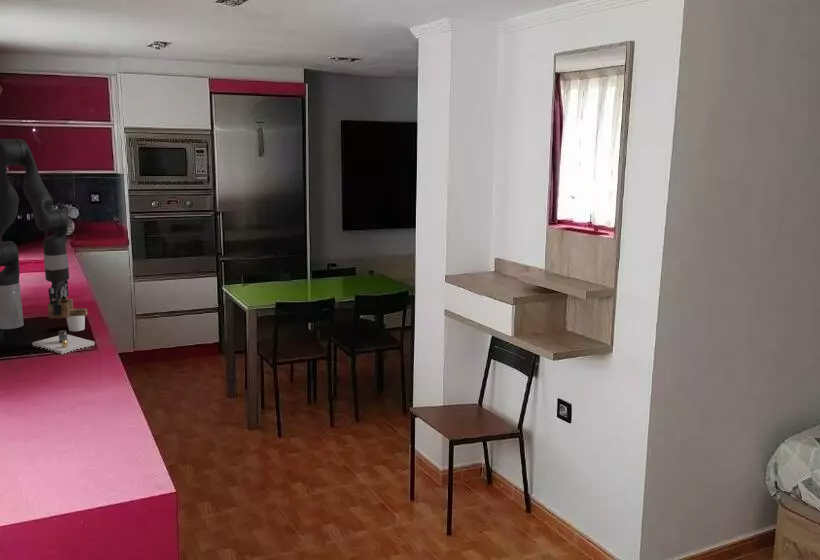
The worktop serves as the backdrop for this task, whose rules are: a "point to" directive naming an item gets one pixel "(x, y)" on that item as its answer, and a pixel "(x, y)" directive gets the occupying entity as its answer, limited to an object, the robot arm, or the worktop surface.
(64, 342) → the dowel
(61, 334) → the post
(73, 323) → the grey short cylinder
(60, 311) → the robot arm
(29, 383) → the worktop surface
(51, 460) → the worktop surface
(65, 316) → the open wooden box
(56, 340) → the board
